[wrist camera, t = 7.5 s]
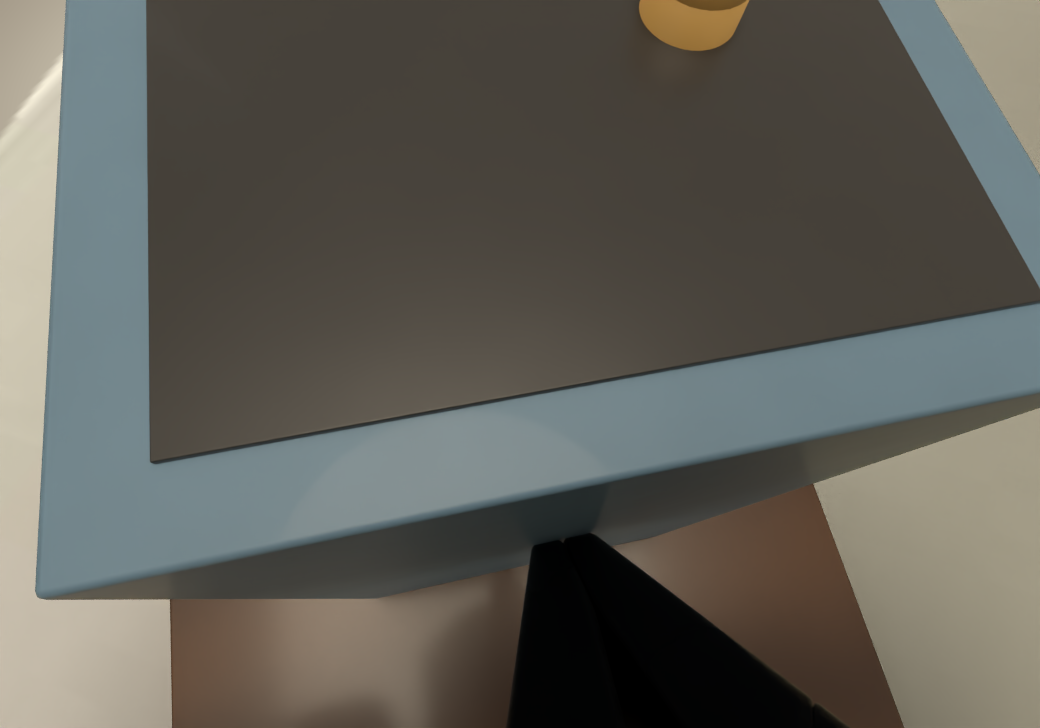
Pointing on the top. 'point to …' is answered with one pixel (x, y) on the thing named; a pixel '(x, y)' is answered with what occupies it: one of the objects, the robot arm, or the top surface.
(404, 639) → the walnut board
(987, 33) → the top surface
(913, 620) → the top surface
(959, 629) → the top surface
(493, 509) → the pen caddy
